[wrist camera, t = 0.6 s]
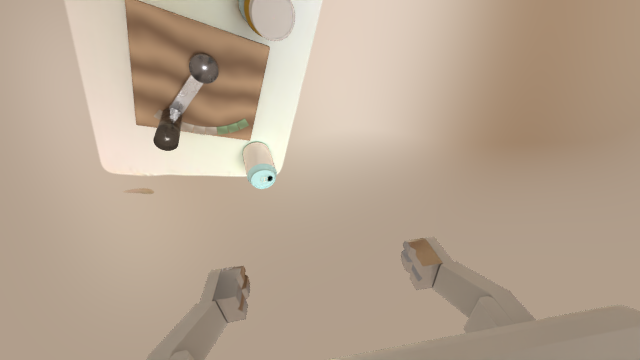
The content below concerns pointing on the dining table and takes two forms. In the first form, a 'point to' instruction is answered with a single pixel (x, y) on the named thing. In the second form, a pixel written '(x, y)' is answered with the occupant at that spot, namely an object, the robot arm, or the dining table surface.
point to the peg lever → (184, 100)
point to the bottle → (269, 17)
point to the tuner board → (173, 70)
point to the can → (259, 165)
